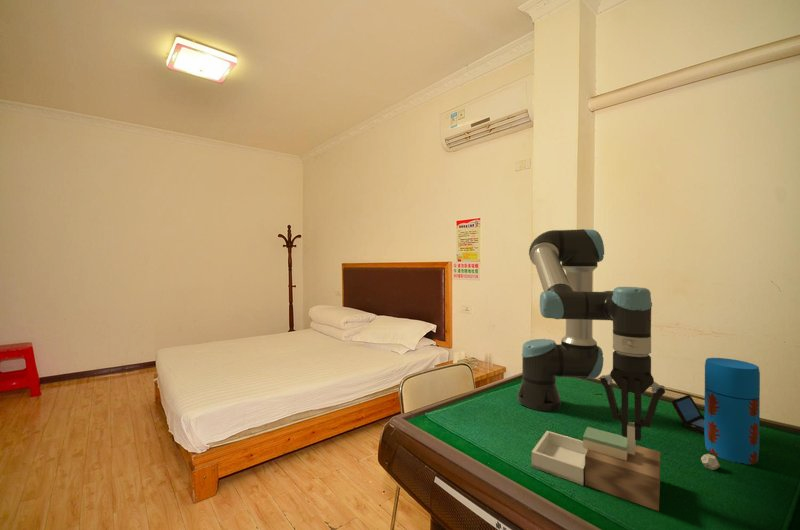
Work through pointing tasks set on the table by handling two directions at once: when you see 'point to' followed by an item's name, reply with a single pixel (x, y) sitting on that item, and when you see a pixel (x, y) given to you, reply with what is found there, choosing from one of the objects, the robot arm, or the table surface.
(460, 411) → the table surface
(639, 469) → the walnut block
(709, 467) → the game die
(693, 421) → the handheld game console
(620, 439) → the tile
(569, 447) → the bin
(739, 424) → the thermos
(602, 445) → the tile
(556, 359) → the robot arm
